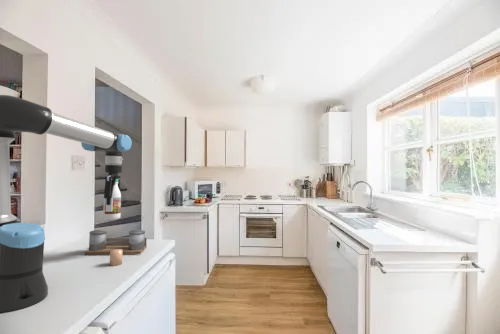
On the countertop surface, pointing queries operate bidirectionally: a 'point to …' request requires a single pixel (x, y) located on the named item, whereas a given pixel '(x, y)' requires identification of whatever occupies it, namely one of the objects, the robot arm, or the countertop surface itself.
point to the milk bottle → (113, 204)
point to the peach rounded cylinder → (116, 257)
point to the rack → (116, 243)
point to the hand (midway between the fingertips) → (112, 210)
